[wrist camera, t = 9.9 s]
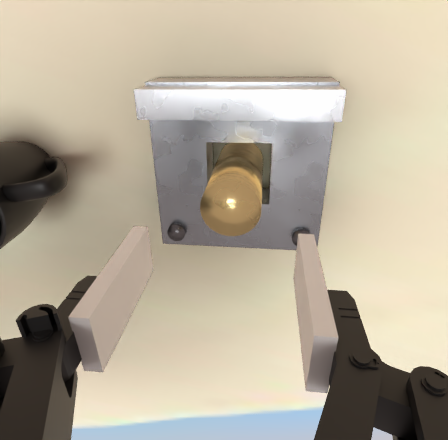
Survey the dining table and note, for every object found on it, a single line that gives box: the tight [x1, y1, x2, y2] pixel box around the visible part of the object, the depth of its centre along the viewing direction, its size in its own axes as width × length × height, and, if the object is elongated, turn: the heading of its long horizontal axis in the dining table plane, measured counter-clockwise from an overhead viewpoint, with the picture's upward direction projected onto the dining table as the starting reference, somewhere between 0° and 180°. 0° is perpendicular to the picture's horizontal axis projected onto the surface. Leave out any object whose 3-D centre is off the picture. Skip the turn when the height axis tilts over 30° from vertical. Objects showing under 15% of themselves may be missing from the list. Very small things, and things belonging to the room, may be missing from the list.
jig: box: [134, 77, 346, 250], centre depth 28 cm, size 14×14×6 cm
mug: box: [0, 142, 67, 249], centre depth 29 cm, size 8×12×10 cm
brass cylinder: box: [200, 143, 263, 236], centre depth 27 cm, size 4×4×10 cm
